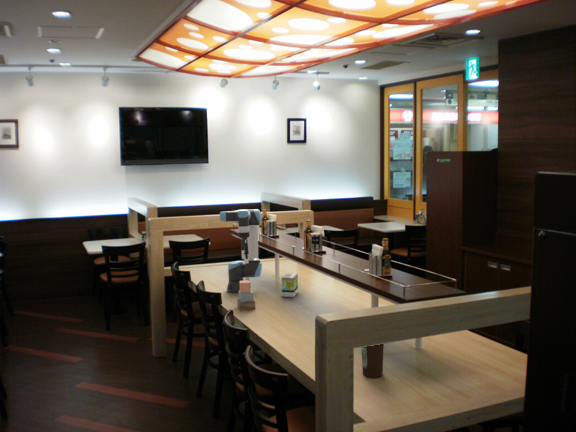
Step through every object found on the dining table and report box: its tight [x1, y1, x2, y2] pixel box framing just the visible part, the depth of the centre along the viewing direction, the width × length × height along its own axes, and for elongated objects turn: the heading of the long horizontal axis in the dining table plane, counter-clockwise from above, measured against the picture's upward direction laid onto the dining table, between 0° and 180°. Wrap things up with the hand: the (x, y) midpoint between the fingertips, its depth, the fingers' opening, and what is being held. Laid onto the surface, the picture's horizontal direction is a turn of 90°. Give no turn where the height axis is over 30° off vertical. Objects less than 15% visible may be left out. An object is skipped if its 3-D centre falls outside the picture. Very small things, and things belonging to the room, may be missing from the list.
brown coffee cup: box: [360, 344, 385, 379], centre depth 244 cm, size 11×11×25 cm
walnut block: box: [236, 298, 256, 312], centre depth 362 cm, size 11×11×6 cm
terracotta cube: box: [240, 279, 252, 293], centre depth 360 cm, size 7×7×7 cm
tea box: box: [281, 273, 299, 298], centre depth 394 cm, size 15×10×15 cm, turn 168°
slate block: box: [238, 289, 255, 302], centre depth 361 cm, size 9×9×6 cm
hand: (245, 261), depth 368 cm, fingers open, 13 cm apart
